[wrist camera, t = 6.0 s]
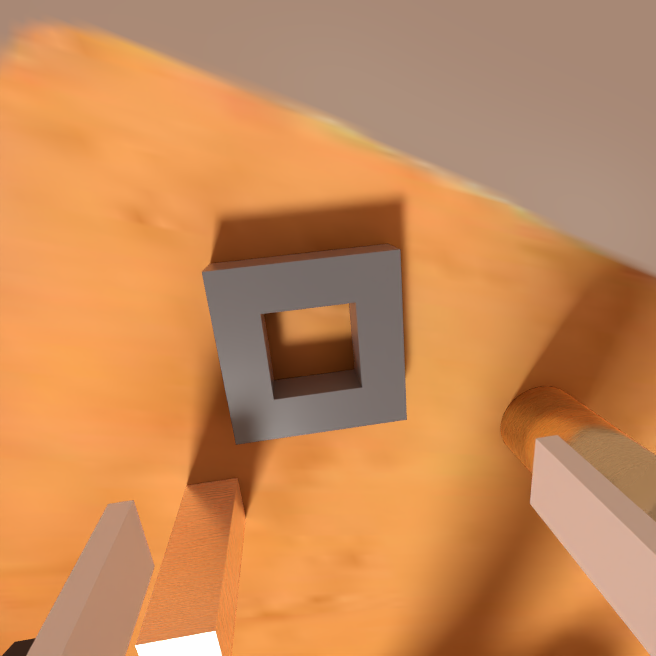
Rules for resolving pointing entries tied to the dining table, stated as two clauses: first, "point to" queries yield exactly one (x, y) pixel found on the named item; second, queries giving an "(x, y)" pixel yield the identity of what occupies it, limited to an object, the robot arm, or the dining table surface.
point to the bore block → (300, 293)
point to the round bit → (581, 441)
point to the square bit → (198, 576)
